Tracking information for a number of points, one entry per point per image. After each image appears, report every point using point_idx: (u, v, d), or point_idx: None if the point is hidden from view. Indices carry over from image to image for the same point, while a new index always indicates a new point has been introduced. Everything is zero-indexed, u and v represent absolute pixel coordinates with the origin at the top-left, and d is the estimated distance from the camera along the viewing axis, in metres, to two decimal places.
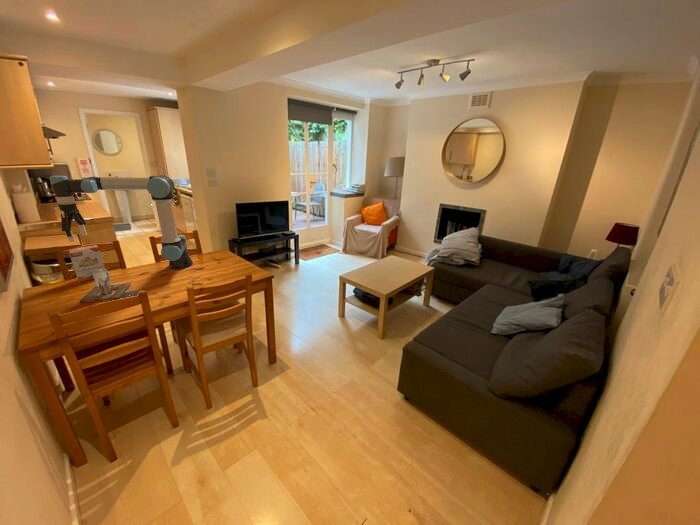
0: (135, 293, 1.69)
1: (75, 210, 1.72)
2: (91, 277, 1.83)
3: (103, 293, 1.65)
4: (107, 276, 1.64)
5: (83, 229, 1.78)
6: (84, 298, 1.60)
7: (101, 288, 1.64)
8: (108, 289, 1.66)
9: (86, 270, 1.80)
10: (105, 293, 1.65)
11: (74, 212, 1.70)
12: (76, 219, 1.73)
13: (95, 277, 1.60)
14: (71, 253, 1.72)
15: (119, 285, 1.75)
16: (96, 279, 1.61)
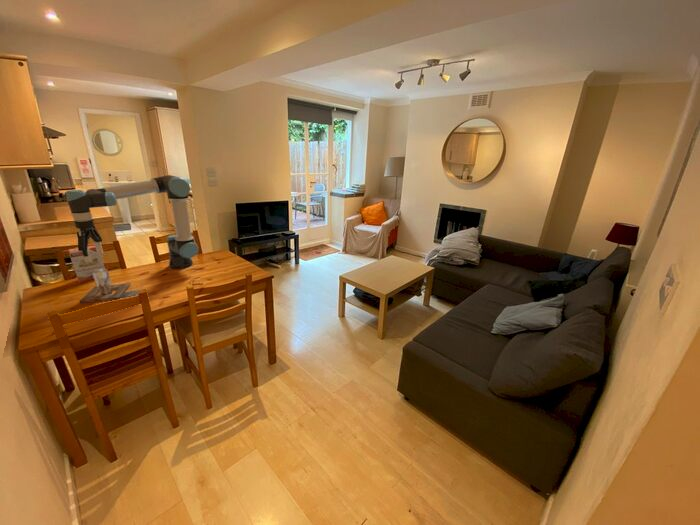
0: (135, 293, 1.69)
1: (91, 227, 1.58)
2: (91, 277, 1.83)
3: (103, 293, 1.65)
4: (107, 276, 1.64)
5: (99, 247, 1.64)
6: (84, 298, 1.60)
7: (101, 288, 1.64)
8: (108, 289, 1.66)
9: (86, 270, 1.80)
10: (105, 293, 1.65)
11: (91, 229, 1.55)
12: (92, 236, 1.59)
13: (95, 277, 1.60)
14: (71, 253, 1.72)
15: (119, 285, 1.75)
16: (96, 279, 1.61)
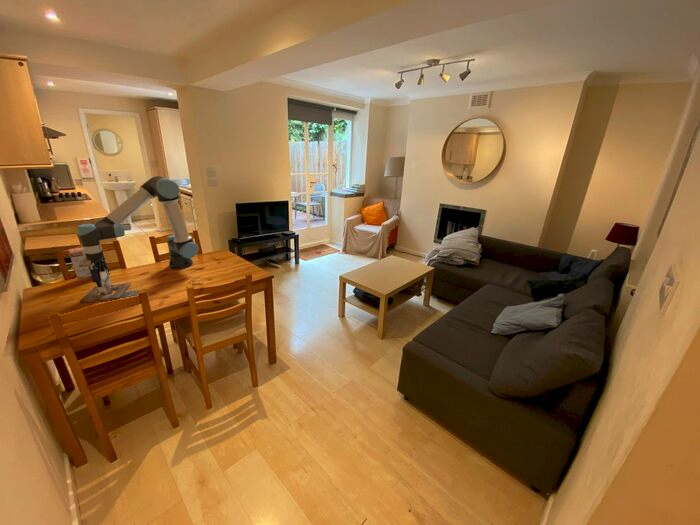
0: (135, 293, 1.69)
1: (101, 258, 1.65)
2: (91, 277, 1.83)
3: (103, 293, 1.65)
4: (107, 276, 1.64)
5: None
6: (84, 298, 1.60)
7: None
8: (108, 289, 1.66)
9: (86, 270, 1.80)
10: (105, 293, 1.65)
11: (100, 259, 1.62)
12: (101, 268, 1.64)
13: None
14: (71, 253, 1.72)
15: (119, 285, 1.75)
16: None
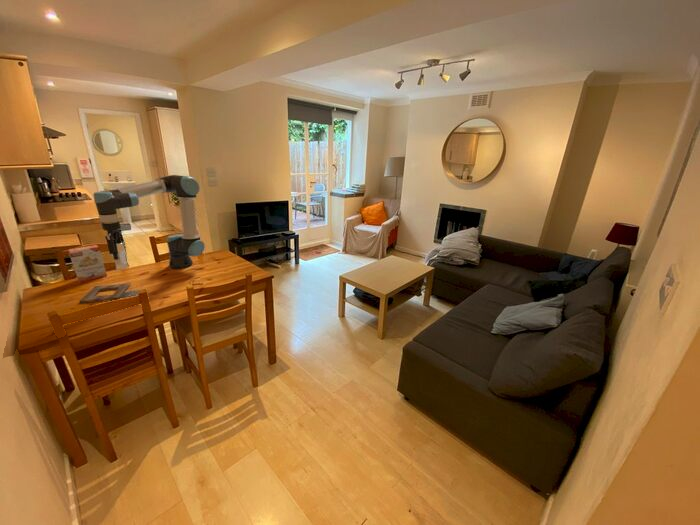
0: (135, 293, 1.69)
1: (118, 230, 1.57)
2: (91, 277, 1.83)
3: (119, 266, 1.57)
4: (124, 248, 1.56)
5: None
6: (84, 298, 1.60)
7: None
8: (125, 263, 1.58)
9: (86, 270, 1.80)
10: (121, 266, 1.57)
11: (117, 230, 1.54)
12: (117, 240, 1.56)
13: None
14: (71, 253, 1.72)
15: (119, 285, 1.75)
16: None
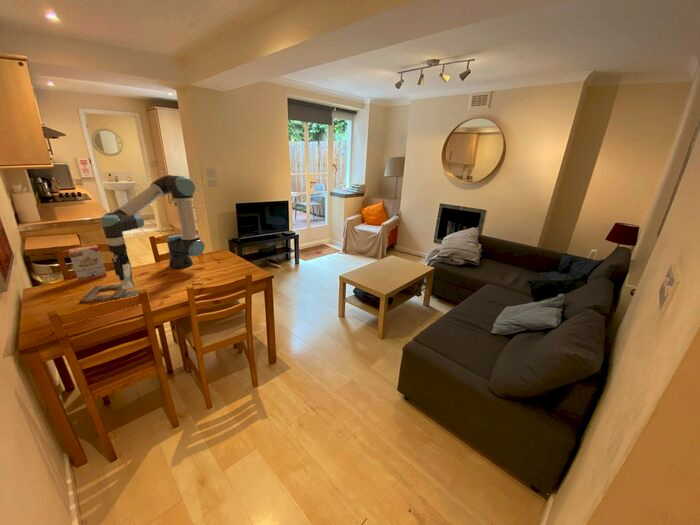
0: (135, 293, 1.69)
1: (123, 251, 1.62)
2: (91, 277, 1.83)
3: (125, 286, 1.62)
4: (129, 269, 1.61)
5: None
6: (84, 298, 1.60)
7: None
8: (130, 283, 1.63)
9: (86, 270, 1.80)
10: (127, 286, 1.62)
11: (123, 252, 1.59)
12: (123, 261, 1.61)
13: None
14: (71, 253, 1.72)
15: (119, 285, 1.75)
16: None
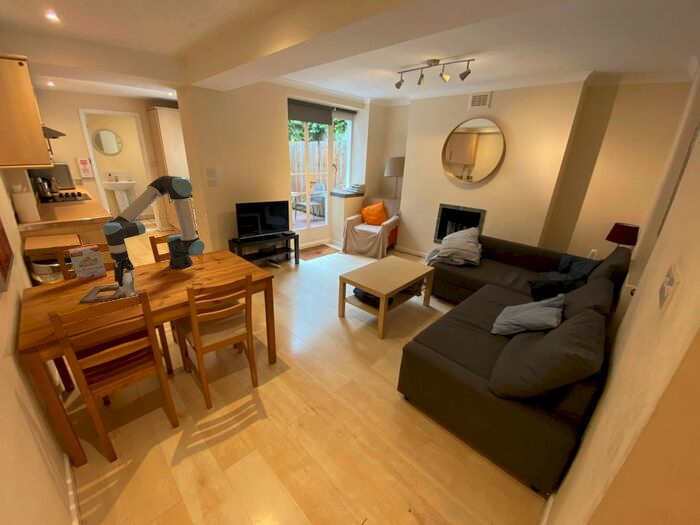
0: None
1: None
2: (91, 277, 1.83)
3: (127, 294, 1.64)
4: (131, 277, 1.62)
5: None
6: (84, 298, 1.60)
7: None
8: (133, 291, 1.65)
9: (86, 270, 1.80)
10: (129, 294, 1.64)
11: (125, 259, 1.61)
12: (126, 266, 1.64)
13: None
14: (71, 253, 1.72)
15: None
16: None
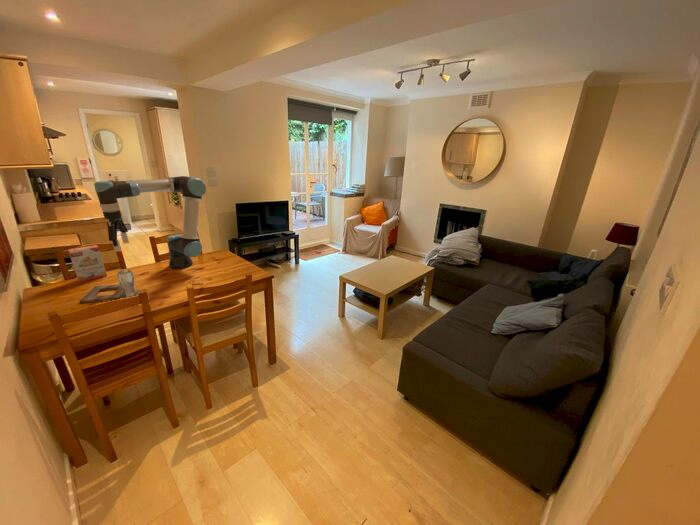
0: None
1: (118, 217, 1.61)
2: (91, 277, 1.83)
3: (127, 294, 1.64)
4: (132, 277, 1.63)
5: (125, 237, 1.67)
6: (84, 298, 1.60)
7: (126, 289, 1.62)
8: (133, 291, 1.65)
9: (86, 270, 1.80)
10: (129, 294, 1.64)
11: (118, 220, 1.59)
12: (119, 227, 1.62)
13: (120, 278, 1.59)
14: (71, 253, 1.72)
15: (119, 285, 1.75)
16: (121, 280, 1.59)
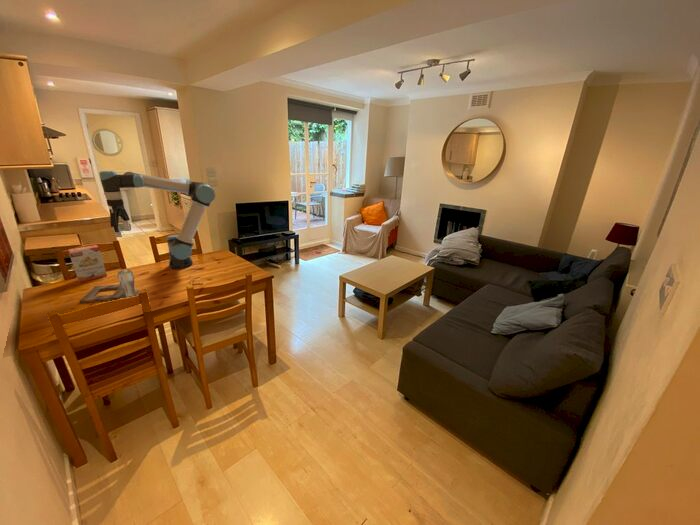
0: None
1: (121, 206, 1.72)
2: (91, 277, 1.83)
3: (127, 294, 1.64)
4: (132, 277, 1.63)
5: (127, 225, 1.78)
6: (84, 298, 1.60)
7: (126, 289, 1.62)
8: (133, 291, 1.65)
9: (86, 270, 1.80)
10: (129, 294, 1.64)
11: (120, 208, 1.69)
12: (121, 215, 1.73)
13: (120, 278, 1.59)
14: (71, 253, 1.72)
15: (119, 285, 1.75)
16: (121, 280, 1.59)
